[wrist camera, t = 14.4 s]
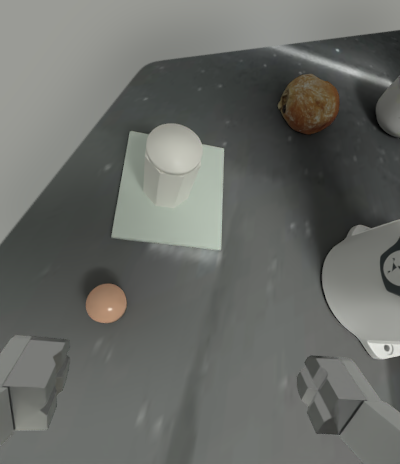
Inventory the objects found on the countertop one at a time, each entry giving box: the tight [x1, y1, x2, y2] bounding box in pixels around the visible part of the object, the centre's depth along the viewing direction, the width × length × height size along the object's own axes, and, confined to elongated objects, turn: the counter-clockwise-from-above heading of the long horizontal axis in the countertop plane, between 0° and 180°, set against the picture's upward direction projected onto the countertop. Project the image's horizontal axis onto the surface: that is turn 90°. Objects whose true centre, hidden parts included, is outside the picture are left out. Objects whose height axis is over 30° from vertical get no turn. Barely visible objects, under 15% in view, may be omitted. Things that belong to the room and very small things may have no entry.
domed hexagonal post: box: [143, 123, 203, 208], centre depth 33 cm, size 6×6×9 cm
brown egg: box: [86, 284, 127, 323], centre depth 30 cm, size 4×4×3 cm
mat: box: [111, 131, 224, 251], centre depth 37 cm, size 14×16×1 cm
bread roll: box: [278, 74, 339, 135], centre depth 46 cm, size 10×10×8 cm
